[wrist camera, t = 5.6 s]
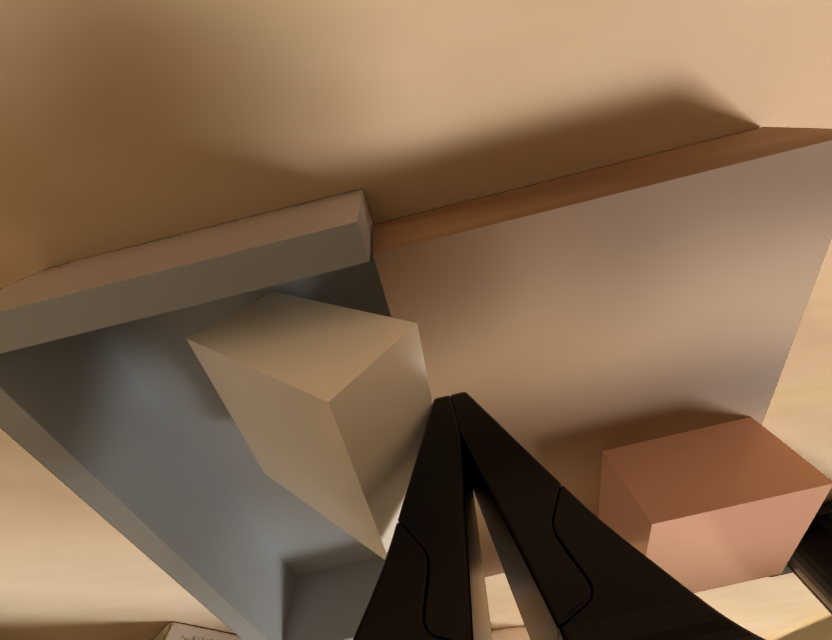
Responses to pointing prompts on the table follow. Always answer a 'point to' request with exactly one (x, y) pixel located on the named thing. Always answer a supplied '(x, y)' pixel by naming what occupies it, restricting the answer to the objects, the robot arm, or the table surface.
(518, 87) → the table surface
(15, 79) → the table surface
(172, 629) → the coffee box
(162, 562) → the grey tray
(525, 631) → the canister
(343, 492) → the cream tile
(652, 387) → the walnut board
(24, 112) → the table surface
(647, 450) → the terracotta tile
